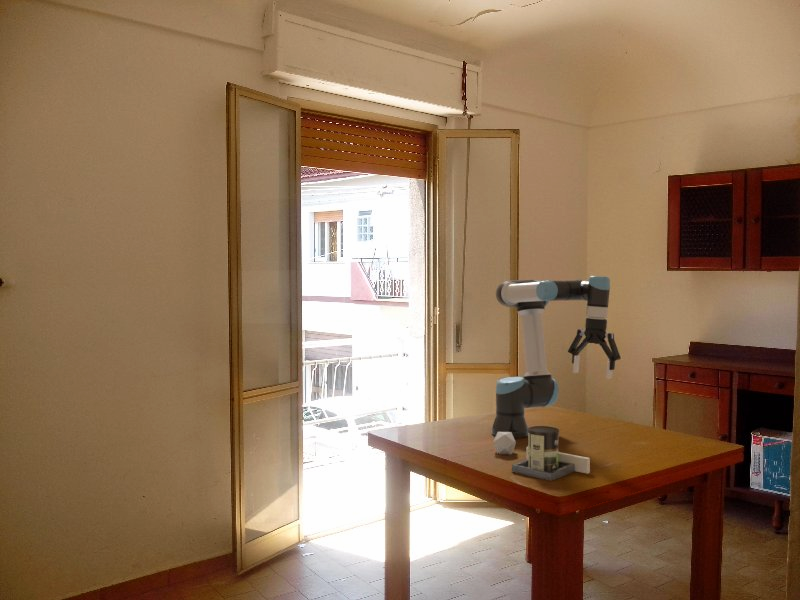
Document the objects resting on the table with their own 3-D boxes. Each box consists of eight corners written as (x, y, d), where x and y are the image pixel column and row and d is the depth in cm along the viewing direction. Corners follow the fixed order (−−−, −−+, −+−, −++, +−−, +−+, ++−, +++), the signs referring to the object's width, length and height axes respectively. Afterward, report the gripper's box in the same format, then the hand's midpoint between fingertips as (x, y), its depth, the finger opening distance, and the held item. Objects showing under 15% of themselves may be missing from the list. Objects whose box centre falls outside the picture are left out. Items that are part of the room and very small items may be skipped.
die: (507, 459, 258) (521, 437, 260) (487, 446, 261) (501, 424, 263) (507, 461, 266) (521, 440, 268) (487, 448, 269) (501, 427, 270)
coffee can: (558, 467, 244) (558, 426, 243) (558, 475, 234) (559, 433, 233) (528, 465, 246) (528, 425, 245) (526, 473, 236) (527, 431, 235)
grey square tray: (512, 472, 239) (512, 464, 239) (536, 463, 250) (536, 456, 250) (550, 481, 229) (551, 473, 229) (574, 471, 240) (574, 464, 240)
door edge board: (526, 460, 254) (526, 447, 253) (528, 460, 255) (528, 446, 255) (587, 473, 237) (587, 458, 237) (589, 472, 238) (589, 458, 238)
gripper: (633, 321, 254) (628, 380, 255) (572, 314, 271) (568, 370, 272) (622, 321, 248) (618, 381, 249) (561, 314, 266) (557, 371, 267)
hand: (591, 375), depth 261 cm, fingers open, 13 cm apart
